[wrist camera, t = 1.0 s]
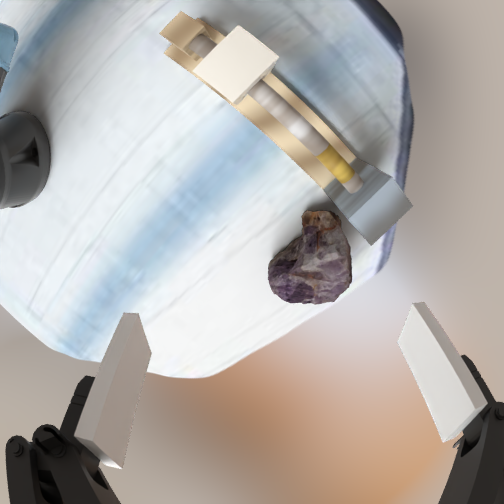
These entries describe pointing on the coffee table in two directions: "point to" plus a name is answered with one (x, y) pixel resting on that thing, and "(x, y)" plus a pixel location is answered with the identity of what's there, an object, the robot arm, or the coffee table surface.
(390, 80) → the coffee table surface
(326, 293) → the rock
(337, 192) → the rail
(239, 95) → the sleeve
